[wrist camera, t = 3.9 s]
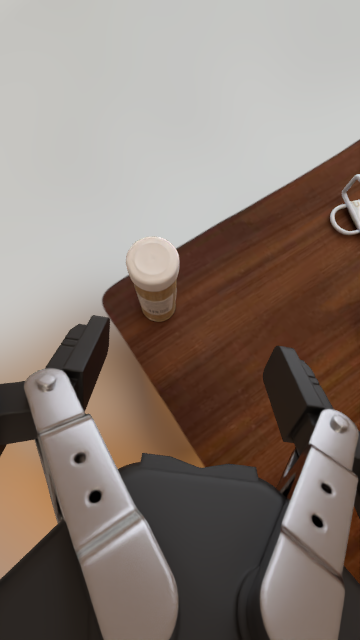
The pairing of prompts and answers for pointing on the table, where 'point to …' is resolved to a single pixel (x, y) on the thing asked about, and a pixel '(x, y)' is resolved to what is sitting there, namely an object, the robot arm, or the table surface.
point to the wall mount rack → (356, 209)
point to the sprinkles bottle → (154, 276)
